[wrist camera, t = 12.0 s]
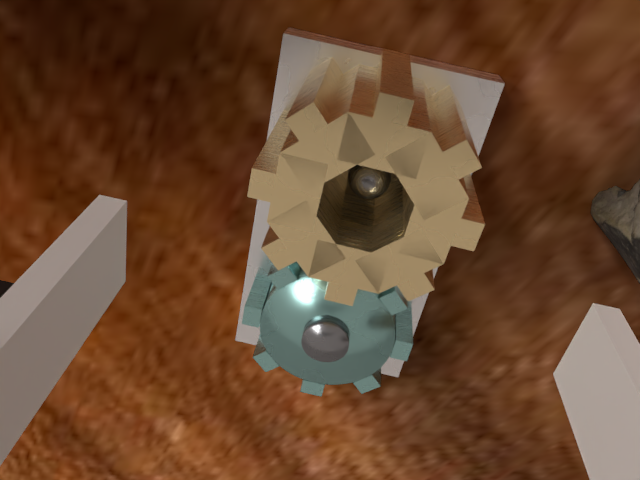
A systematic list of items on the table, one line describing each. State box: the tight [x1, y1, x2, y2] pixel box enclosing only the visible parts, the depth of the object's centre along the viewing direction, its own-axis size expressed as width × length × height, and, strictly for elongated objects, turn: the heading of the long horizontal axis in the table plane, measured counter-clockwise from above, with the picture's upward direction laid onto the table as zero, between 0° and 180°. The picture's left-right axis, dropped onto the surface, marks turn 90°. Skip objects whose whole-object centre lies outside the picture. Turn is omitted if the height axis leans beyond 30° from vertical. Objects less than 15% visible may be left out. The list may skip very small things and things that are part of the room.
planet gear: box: [247, 48, 485, 306], centre depth 24 cm, size 9×9×7 cm
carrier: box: [235, 27, 505, 396], centre depth 28 cm, size 10×18×6 cm, turn 168°
